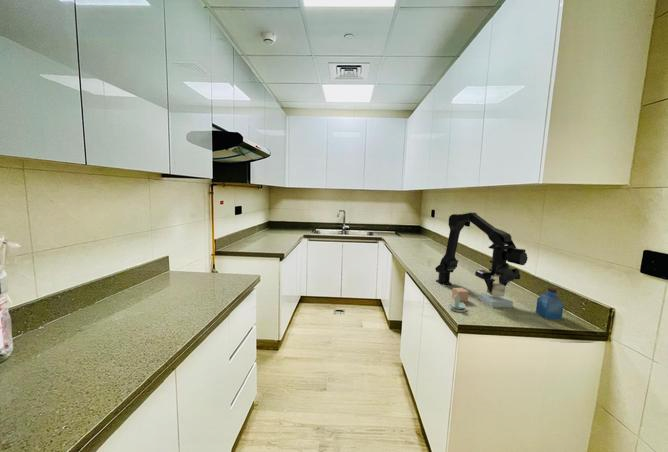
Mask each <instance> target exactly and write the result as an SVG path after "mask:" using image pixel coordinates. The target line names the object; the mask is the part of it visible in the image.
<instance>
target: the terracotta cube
mask: <svg viewBox="0 0 668 452" xmlns="http://www.w3.org/2000/svg"><path fill="white" fill-rule="evenodd" d="M451 293H452V294H451V298H452V299H453V300H454V296H455V295H459V296H460V302H463V303H466V302H467V303H468V301H469V290H467V289H465V288H464V287H452V289H451Z"/></svg>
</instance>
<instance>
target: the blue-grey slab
mask: <svg viewBox="0 0 668 452" xmlns="http://www.w3.org/2000/svg"><path fill="white" fill-rule="evenodd" d="M477 299H478V300H479V301H481V302H482V303H484V304H486V305H487V306H490V307H491V308H513V306H514V301H513V300H511V299H509V298H508V297H505V296H498V297H494V296H492V295H490V294H489V293H487V292H486V293H479V292H478V294H477Z"/></svg>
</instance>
